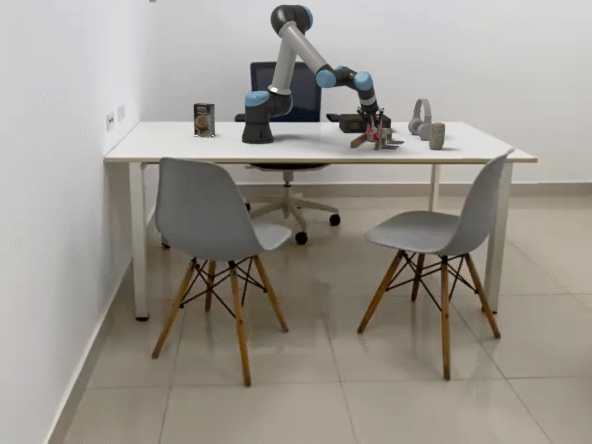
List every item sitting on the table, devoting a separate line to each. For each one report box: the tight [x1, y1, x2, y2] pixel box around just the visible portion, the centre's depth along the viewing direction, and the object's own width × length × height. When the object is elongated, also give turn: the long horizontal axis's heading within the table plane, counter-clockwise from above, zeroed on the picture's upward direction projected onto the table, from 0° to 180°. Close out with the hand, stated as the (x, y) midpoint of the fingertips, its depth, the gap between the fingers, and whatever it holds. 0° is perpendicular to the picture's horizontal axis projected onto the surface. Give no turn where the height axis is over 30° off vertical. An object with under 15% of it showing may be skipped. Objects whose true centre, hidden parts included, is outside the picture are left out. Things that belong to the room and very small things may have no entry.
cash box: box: [338, 113, 392, 134], centre depth 355 cm, size 25×20×8 cm
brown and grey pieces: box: [349, 128, 405, 151], centre depth 317 cm, size 20×31×5 cm, turn 160°
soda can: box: [366, 116, 382, 143], centre depth 323 cm, size 7×7×12 cm
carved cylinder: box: [428, 121, 446, 151], centre depth 305 cm, size 6×8×12 cm
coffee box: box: [193, 102, 216, 136], centre depth 332 cm, size 9×6×16 cm
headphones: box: [407, 98, 433, 141], centre depth 334 cm, size 20×8×19 cm, turn 7°
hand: (375, 131), depth 319 cm, fingers closed
